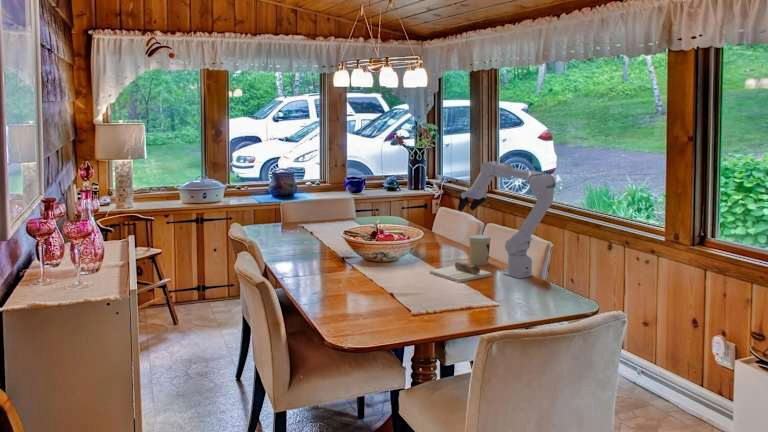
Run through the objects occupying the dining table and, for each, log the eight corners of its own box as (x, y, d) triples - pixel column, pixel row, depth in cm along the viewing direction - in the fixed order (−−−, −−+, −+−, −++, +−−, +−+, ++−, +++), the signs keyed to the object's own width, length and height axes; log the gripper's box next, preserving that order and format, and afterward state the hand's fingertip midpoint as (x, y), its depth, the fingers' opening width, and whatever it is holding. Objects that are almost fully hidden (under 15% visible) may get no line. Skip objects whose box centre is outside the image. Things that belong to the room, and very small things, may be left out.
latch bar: (479, 272, 278) (479, 266, 277) (475, 273, 276) (475, 267, 276) (459, 267, 287) (459, 260, 287) (455, 268, 286) (455, 261, 285)
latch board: (491, 275, 280) (491, 272, 280) (458, 282, 269) (458, 279, 269) (461, 267, 294) (461, 264, 294) (429, 273, 284) (429, 270, 284)
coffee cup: (491, 265, 297) (492, 238, 295) (469, 265, 297) (470, 238, 295) (488, 260, 306) (489, 234, 304) (467, 260, 306) (468, 234, 304)
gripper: (486, 179, 296) (471, 203, 303) (463, 179, 287) (448, 204, 294) (495, 189, 292) (480, 213, 299) (472, 190, 283) (457, 214, 290)
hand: (465, 209), depth 296 cm, fingers open, 7 cm apart
